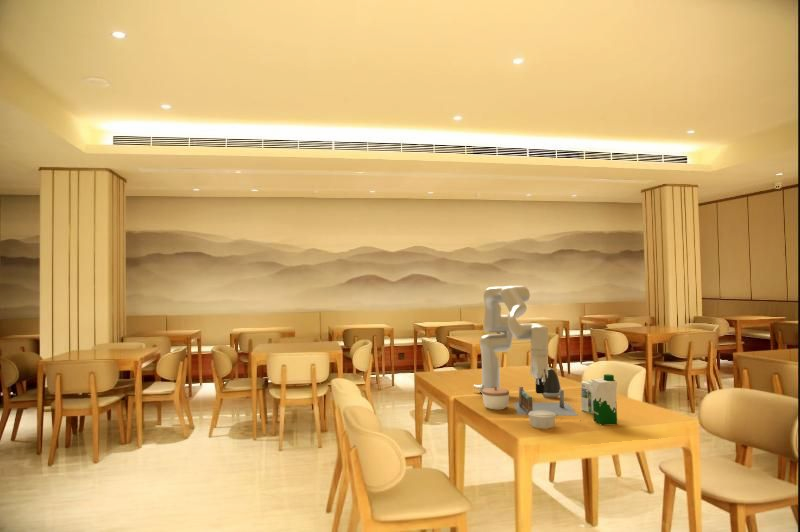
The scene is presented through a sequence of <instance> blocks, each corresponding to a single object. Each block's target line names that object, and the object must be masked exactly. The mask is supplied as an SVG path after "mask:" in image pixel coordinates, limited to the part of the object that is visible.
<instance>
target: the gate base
mask: <svg viewBox="0 0 800 532" xmlns="http://www.w3.org/2000/svg"><path fill="white" fill-rule="evenodd" d="M520 390H524V387H523V386H518V401H513V405H514V408H515V410H516V414H517V415H518V416H519V415H520V416H521V415H522V416H524V415H525V416H528V413H527V412H526V411H525V410H524V409H523V408H522V407H521V405H520ZM532 408H533V411H535V410H544V411H550V412H553V413H555V414H556V416H561V417H562V416H567V417H568V416H569V417H574V416H575V417H578V416H579V414H577V413H576V410H574V409H573V407H572V406H571V405H570V403H568V402H565V390H564V389H561V390H559V402H533V401H532Z"/></svg>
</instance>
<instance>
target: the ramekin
mask: <svg viewBox="0 0 800 532" xmlns="http://www.w3.org/2000/svg"><path fill="white" fill-rule="evenodd" d="M527 416H528V419H529V425H530V426H531V427H532V426H533V427H532V428H535V429H540V428H541V430H544V429H545V430H548V429H552V428H553V427H554V426H555V421H556V420H555V419H556V416H557V415H556V414H555V413H553V412H550V411H544V410H535V411H530V412H529V413H528V415H527Z"/></svg>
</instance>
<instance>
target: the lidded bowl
mask: <svg viewBox="0 0 800 532" xmlns="http://www.w3.org/2000/svg"><path fill="white" fill-rule="evenodd" d="M509 400H510V390H509V389H506V388H502V387H500V388H497V386H494V388H486V389H483V390H482V401H483V404H484V406H485V408H487V409H489V410H498V411H499V410H503V409H506V408H507V406H508V405H509Z"/></svg>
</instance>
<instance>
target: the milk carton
mask: <svg viewBox="0 0 800 532" xmlns="http://www.w3.org/2000/svg"><path fill="white" fill-rule="evenodd" d="M591 381H592V387H593V413H592V414H593V421H594V422H595V421H596V422H595V423H597V424H598V425H600V424H601V426H605V425H604V424H615V425H618V409H617V406H618V404H617V388H618V381H616V379H615V375H613V374H603V378H592V379H591Z"/></svg>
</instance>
